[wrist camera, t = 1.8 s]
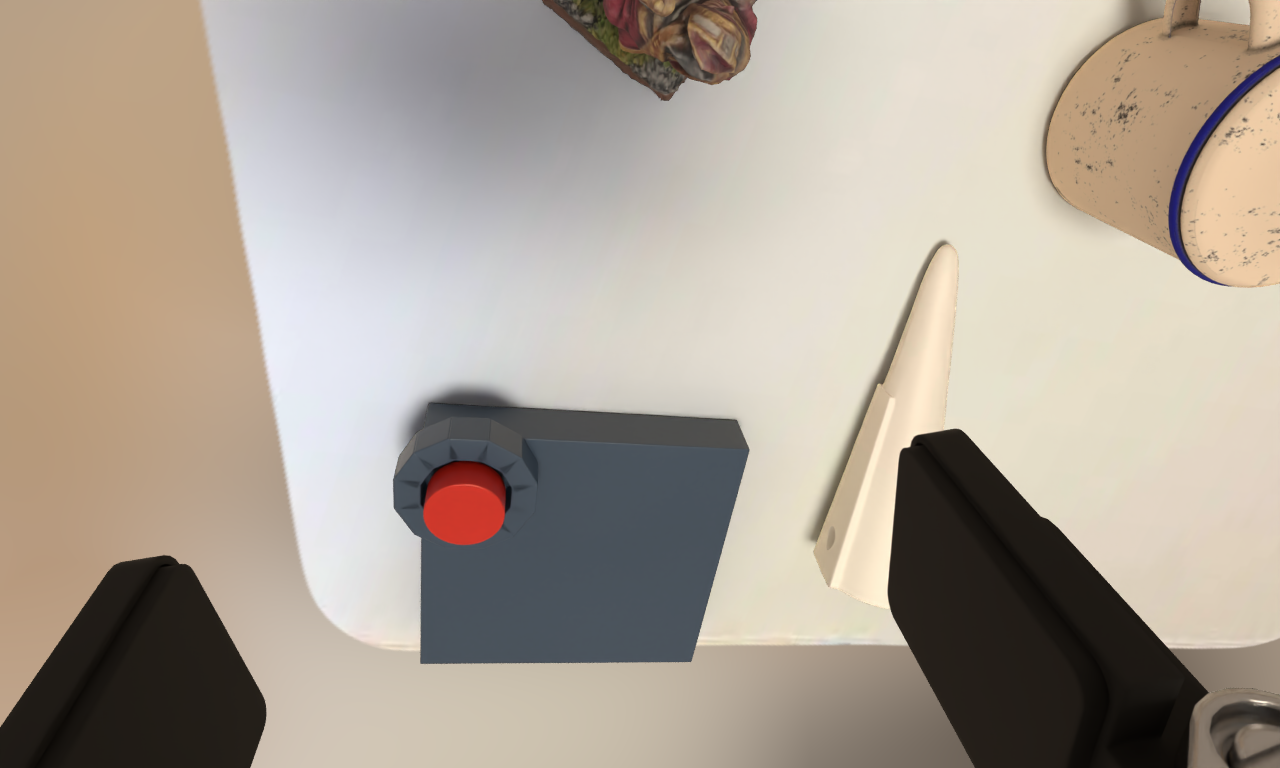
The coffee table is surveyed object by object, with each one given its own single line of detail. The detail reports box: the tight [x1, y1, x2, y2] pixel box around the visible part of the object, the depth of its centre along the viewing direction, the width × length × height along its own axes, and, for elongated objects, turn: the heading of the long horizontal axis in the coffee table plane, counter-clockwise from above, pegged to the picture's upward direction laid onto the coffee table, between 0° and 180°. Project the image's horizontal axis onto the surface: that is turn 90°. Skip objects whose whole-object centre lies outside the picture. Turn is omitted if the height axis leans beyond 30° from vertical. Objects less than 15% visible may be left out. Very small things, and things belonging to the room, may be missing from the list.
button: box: [423, 461, 506, 545], centre depth 34 cm, size 4×4×2 cm
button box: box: [393, 403, 749, 664], centre depth 40 cm, size 17×17×4 cm
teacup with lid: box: [1046, 0, 1280, 288], centre depth 29 cm, size 12×9×12 cm
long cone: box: [814, 245, 959, 609], centre depth 40 cm, size 6×6×19 cm
